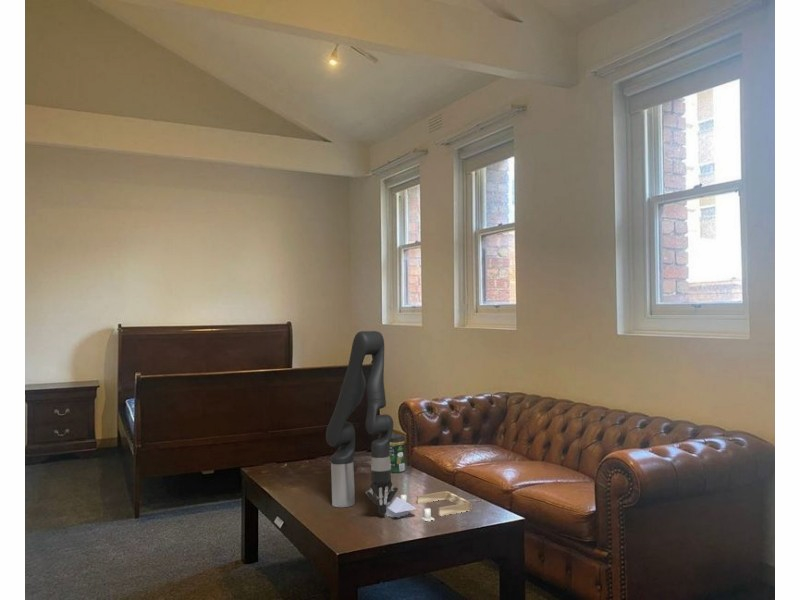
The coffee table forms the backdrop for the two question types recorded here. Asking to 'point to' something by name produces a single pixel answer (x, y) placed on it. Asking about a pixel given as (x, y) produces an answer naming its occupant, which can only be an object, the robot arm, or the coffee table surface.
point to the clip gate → (426, 510)
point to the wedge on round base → (398, 508)
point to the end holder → (453, 509)
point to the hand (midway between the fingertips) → (382, 514)
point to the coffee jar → (397, 453)
